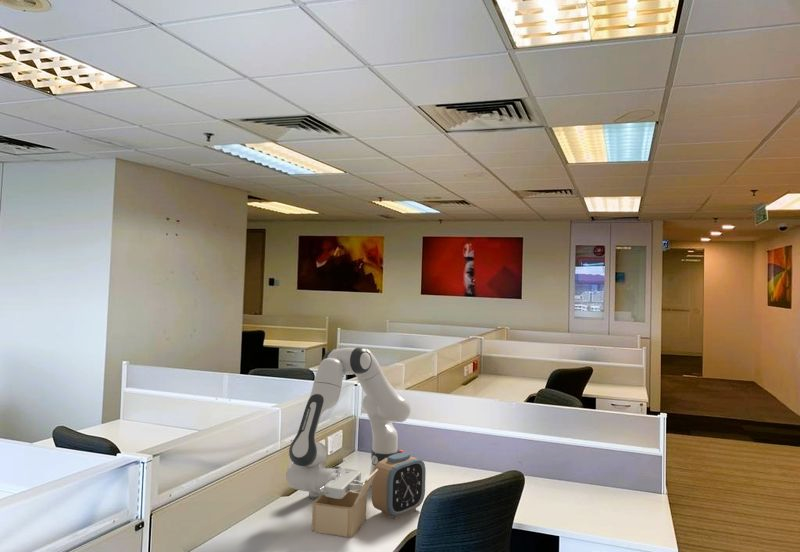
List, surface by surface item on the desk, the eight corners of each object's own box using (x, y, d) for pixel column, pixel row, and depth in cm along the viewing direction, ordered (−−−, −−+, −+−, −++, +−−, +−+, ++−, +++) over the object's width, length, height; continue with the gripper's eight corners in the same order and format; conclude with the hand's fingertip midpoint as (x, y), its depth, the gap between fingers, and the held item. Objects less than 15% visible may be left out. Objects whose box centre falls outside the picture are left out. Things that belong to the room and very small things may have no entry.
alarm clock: (389, 523, 209) (390, 464, 209) (371, 515, 215) (372, 458, 215) (425, 508, 224) (426, 453, 224) (407, 501, 230) (408, 447, 230)
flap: (353, 504, 198) (366, 479, 197) (365, 492, 209) (376, 468, 208) (355, 505, 198) (367, 480, 197) (366, 493, 209) (378, 469, 208)
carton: (327, 514, 216) (328, 487, 216) (366, 519, 211) (367, 492, 211) (309, 531, 200) (310, 503, 200) (351, 538, 196) (351, 509, 196)
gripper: (316, 482, 197) (354, 487, 193) (339, 464, 217) (373, 468, 213) (316, 500, 197) (353, 506, 193) (338, 480, 217) (372, 485, 213)
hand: (364, 486), depth 203 cm, fingers closed, pressing on flap
